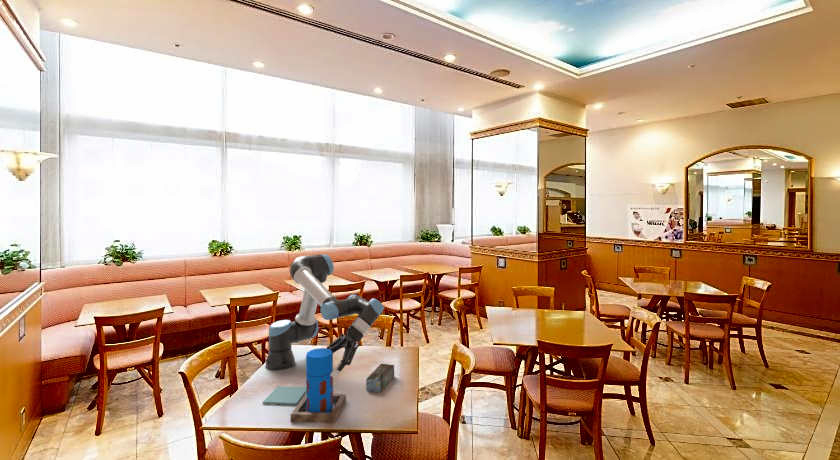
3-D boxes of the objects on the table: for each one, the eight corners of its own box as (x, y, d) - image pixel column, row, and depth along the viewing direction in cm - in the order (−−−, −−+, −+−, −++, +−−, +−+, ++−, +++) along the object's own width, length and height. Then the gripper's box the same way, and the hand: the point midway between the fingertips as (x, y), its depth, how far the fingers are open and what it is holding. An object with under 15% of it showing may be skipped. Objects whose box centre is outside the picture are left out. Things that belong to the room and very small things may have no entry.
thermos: (336, 405, 166) (336, 348, 165) (327, 418, 155) (327, 358, 154) (312, 403, 167) (311, 347, 166) (302, 416, 156) (301, 357, 155)
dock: (290, 421, 153) (290, 414, 152) (306, 399, 171) (306, 392, 170) (334, 423, 152) (334, 415, 151) (346, 400, 170) (346, 394, 169)
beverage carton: (365, 390, 180) (365, 377, 179) (380, 374, 198) (380, 362, 198) (380, 393, 177) (380, 379, 177) (395, 376, 196) (395, 363, 195)
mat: (262, 404, 166) (262, 401, 166) (277, 388, 181) (277, 386, 181) (296, 405, 165) (296, 403, 165) (308, 389, 180) (308, 387, 180)
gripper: (376, 342, 161) (344, 386, 152) (350, 327, 181) (320, 366, 173) (365, 332, 157) (331, 377, 149) (340, 318, 177) (309, 357, 169)
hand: (325, 371), depth 161 cm, fingers open, 13 cm apart
